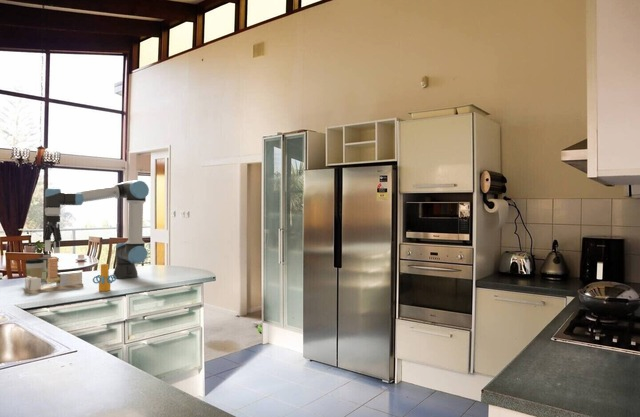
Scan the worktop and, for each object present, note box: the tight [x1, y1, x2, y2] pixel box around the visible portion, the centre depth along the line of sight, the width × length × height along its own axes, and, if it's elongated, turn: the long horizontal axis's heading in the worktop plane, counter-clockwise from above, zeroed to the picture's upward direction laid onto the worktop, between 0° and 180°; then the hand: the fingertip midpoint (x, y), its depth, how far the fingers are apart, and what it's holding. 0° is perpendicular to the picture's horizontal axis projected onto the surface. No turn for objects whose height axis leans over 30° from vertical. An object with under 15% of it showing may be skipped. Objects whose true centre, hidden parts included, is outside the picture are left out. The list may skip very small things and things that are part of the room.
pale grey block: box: [55, 270, 83, 287], centre depth 260 cm, size 12×6×7 cm, turn 140°
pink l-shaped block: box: [45, 257, 60, 284], centre depth 258 cm, size 16×3×14 cm, turn 140°
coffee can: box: [37, 256, 58, 282], centre depth 286 cm, size 10×10×14 cm
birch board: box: [23, 283, 84, 295], centre depth 254 cm, size 28×9×2 cm, turn 140°
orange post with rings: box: [92, 263, 117, 292], centre depth 252 cm, size 12×10×15 cm
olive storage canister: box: [24, 258, 44, 278], centre depth 269 cm, size 10×10×15 cm
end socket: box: [24, 275, 42, 291], centre depth 246 cm, size 6×6×7 cm
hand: (52, 252), depth 253 cm, fingers open, 13 cm apart
